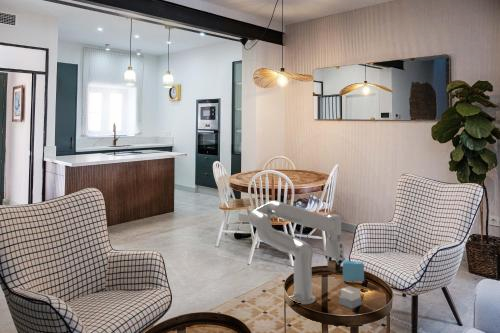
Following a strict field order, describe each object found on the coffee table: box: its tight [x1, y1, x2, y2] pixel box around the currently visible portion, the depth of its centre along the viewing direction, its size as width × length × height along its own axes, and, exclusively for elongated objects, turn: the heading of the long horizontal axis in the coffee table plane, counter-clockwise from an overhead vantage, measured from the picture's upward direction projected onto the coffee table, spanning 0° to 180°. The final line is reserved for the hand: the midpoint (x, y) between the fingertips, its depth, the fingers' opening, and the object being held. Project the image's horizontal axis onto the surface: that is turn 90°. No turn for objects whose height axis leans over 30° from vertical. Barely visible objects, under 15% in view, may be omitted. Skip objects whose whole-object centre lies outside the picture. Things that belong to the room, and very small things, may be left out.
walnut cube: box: [327, 258, 342, 273], centre depth 206 cm, size 5×5×5 cm
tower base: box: [338, 295, 362, 310], centre depth 193 cm, size 8×8×4 cm
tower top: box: [340, 285, 361, 301], centre depth 193 cm, size 7×7×4 cm
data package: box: [342, 260, 365, 282], centre depth 223 cm, size 12×4×12 cm, turn 75°
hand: (334, 269), depth 206 cm, fingers closed on walnut cube, 4 cm apart
